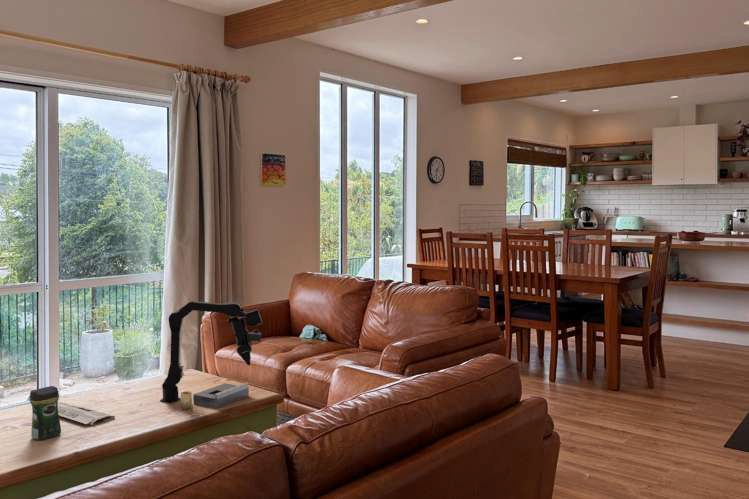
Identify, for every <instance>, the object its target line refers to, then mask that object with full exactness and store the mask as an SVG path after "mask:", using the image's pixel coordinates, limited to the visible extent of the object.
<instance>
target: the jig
mask: <svg viewBox="0 0 749 499" xmlns="http://www.w3.org/2000/svg"><path fill="white" fill-rule="evenodd" d="M249 386H250V384H249V382H245V383H244V382H243V383H241V384H238V385H237V384H232V383H227V382H225V383H222V384H219V385H216V386H214V387H213V386H212V387H211V388H207V389H205V390H202V391H199V392H196V393H193V394H192V396H193V397H192V398H193V400H192V402H193V404H194V405H199V406H204V407H208V408H212V409H219V408H222V407H225V406H227V405H229V404H230V405H231V404H233V403H235V402H238V401H240V400H242V399H245V398H248V397H250V392H249V391H250V388H249Z"/></svg>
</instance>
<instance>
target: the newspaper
mask: <svg viewBox="0 0 749 499" xmlns="http://www.w3.org/2000/svg"><path fill="white" fill-rule="evenodd" d="M58 414H59V417H62V418H65V419H69V420H73V421H75V422H78V423H81V424H84V425H91V426H96V424H97V423H95V422H96V421H98V420H100V421H103V422H106V421H110V420H113V419H116V416H115V415H112V414H109V413H105V412H101V411H97V410H93V409H89V408H86V407H82V406H78V405H74V404H69V403H66V402H62V401H58Z"/></svg>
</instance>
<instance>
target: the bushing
mask: <svg viewBox="0 0 749 499" xmlns="http://www.w3.org/2000/svg"><path fill="white" fill-rule="evenodd" d="M192 396H193V394H192V391H188V390H187V391H181V392H180V398H181V399H180V410H181V411H184V412H186V411H187V412H188V411H191V410H193V406H192V405H193V404H192V403H193V400H192V398H193V397H192Z"/></svg>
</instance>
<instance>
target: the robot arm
mask: <svg viewBox="0 0 749 499" xmlns="http://www.w3.org/2000/svg"><path fill="white" fill-rule="evenodd" d="M193 311H197V312H209V313H220V314H223V315H225V316H228V319H227V321H226V324H230V323H231V326H232V329H233V333H234V338H235V340H236V346H237V347H236V353H237V355H238V356H240V357H241V359H242V360H243V361H244V362H245V364H246V365H247V366H250V365H251V352H252V350H253V349H252V345H253V342H254V341H255V342H262V332H259V330H258V329H254V330H253V331H250V332H249V330H248V329H247V326H248V327H250V328H251V327H254V326H258V325H262V324H263V320H262V316H261V314H260V311H259V309H258V308H256V309H254V310H252V311H246V310H245V309H244V308H242V306H241V305H240V304H239V302H236V301H231V302H223V303H219V302H209V301H208V302H207V301H196V300H190V301H188V302H187V303H186V304H185V305H183V306H182V307H180V308H179V309H178V310H173V311H172V312H171V313H170V314H169V316H168V325H169V326H168V327H169V329H170V330H169V331H170V362H169V367H168V371H167V372H168V373H167V375H166V378H165V379H164V380H163V383H162V384H161V387H162V398H161V399H159V401H160V402H163V403H167V404H168V403H169V404H172V403H174V402H177V401H181V397H179V388H178V384H179V383H180V382H181V379H183V377H184V374H185V373H184V365H181V362H180V361H181V360H180V359H181V331H182V327H183V322H184V318H186V317H187V316H188V315H189V314H190V313H192V312H193Z"/></svg>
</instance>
